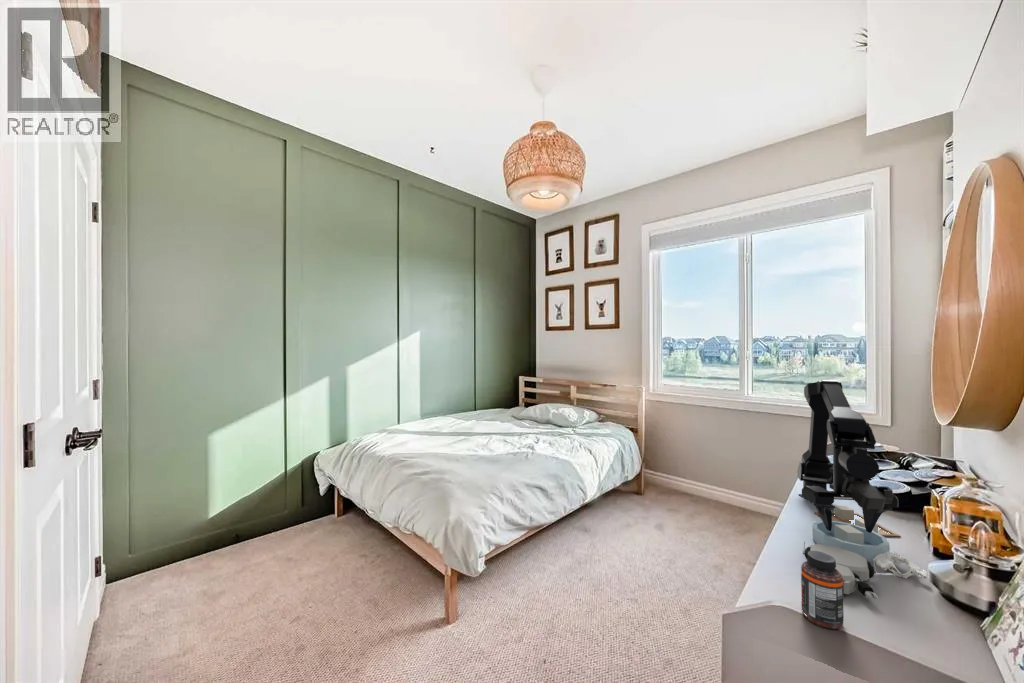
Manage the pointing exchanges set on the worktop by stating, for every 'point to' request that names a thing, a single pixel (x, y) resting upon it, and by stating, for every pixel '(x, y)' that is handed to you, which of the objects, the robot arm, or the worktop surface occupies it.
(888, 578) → the worktop surface
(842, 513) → the tan cube
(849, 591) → the robot toy
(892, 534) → the tray
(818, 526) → the bowl
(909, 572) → the white animal skull
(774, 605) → the worktop surface
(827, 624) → the supplement bottle
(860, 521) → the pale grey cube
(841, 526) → the beige cube
